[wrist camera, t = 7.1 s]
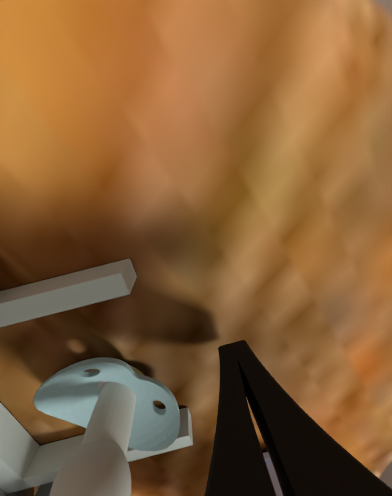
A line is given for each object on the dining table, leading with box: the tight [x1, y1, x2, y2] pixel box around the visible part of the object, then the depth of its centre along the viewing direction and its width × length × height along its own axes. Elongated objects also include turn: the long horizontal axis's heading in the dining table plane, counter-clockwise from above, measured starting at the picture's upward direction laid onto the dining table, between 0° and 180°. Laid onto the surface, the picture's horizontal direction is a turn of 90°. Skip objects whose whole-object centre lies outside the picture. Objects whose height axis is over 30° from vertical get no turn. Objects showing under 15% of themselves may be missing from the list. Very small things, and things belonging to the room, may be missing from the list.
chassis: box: [0, 258, 193, 496], centre depth 9 cm, size 16×15×4 cm
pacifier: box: [33, 357, 180, 496], centre depth 9 cm, size 7×6×6 cm
